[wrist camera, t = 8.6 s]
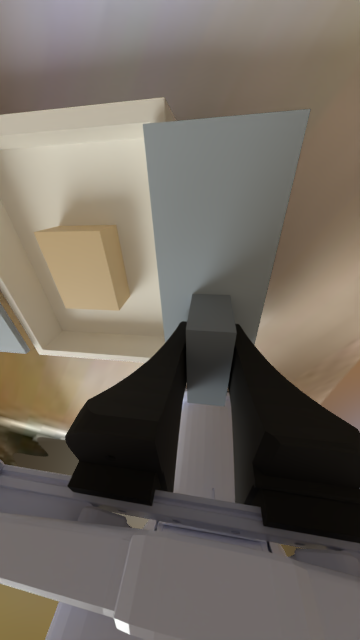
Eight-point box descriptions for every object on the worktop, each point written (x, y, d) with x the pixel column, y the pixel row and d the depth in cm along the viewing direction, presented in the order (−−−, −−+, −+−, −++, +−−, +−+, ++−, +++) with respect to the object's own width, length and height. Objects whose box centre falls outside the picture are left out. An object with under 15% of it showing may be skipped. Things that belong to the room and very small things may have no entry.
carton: (183, 340, 17) (178, 365, 15) (61, 332, 19) (39, 354, 16) (176, 121, 9) (164, 97, 7) (-31, 139, 11) (-100, 125, 9)
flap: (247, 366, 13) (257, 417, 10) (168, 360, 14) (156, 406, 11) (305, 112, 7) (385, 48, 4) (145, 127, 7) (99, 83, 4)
